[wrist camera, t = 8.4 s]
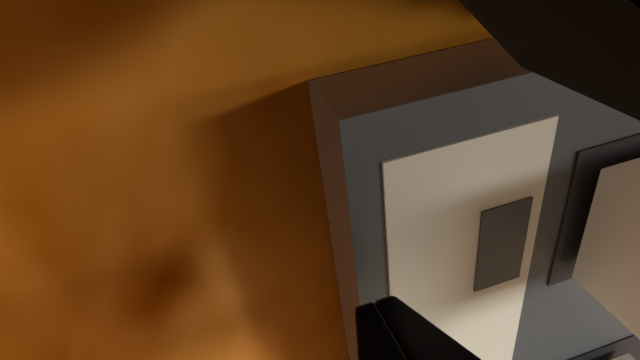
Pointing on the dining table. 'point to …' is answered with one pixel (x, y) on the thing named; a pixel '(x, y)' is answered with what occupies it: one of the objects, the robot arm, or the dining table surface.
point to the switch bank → (470, 199)
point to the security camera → (572, 44)
